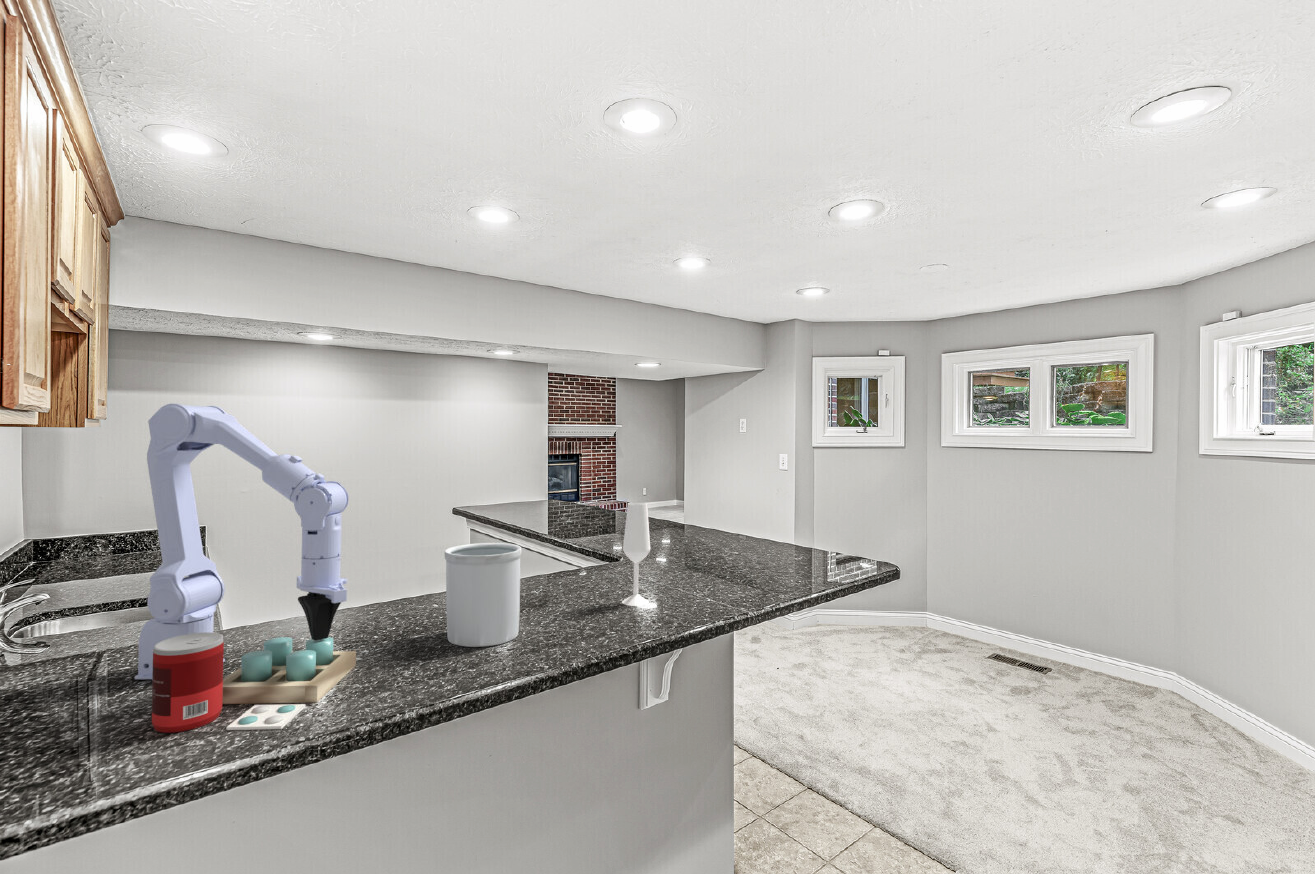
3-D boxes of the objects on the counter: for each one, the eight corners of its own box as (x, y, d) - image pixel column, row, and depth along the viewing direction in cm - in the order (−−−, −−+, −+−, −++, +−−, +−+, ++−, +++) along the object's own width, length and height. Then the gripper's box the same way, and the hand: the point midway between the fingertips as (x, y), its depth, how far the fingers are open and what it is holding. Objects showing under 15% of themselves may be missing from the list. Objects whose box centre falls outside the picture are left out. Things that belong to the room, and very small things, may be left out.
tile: (226, 730, 85) (226, 725, 85) (254, 707, 92) (254, 703, 92) (281, 728, 85) (281, 724, 85) (305, 706, 92) (305, 702, 92)
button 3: (280, 682, 96) (281, 659, 96) (293, 672, 100) (293, 650, 100) (308, 681, 96) (308, 658, 96) (320, 671, 100) (320, 649, 100)
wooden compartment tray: (209, 704, 93) (210, 687, 93) (264, 666, 107) (264, 651, 107) (317, 702, 94) (317, 685, 94) (355, 665, 109) (356, 650, 109)
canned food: (234, 708, 91) (236, 632, 91) (196, 734, 83) (197, 650, 83) (180, 707, 91) (181, 631, 91) (136, 733, 83) (138, 650, 83)
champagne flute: (633, 607, 149) (636, 505, 149) (616, 601, 154) (618, 503, 154) (655, 602, 154) (657, 504, 154) (637, 597, 159) (639, 501, 159)
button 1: (235, 682, 95) (235, 659, 95) (249, 672, 99) (250, 650, 99) (263, 682, 95) (263, 659, 95) (276, 672, 99) (277, 650, 99)
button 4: (300, 666, 102) (301, 644, 102) (312, 657, 106) (312, 636, 106) (326, 666, 102) (327, 644, 102) (337, 657, 106) (337, 636, 106)
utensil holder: (426, 643, 121) (428, 551, 121) (471, 621, 135) (473, 540, 135) (494, 652, 117) (496, 557, 117) (533, 629, 131) (535, 544, 131)
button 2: (258, 666, 101) (258, 645, 101) (271, 658, 105) (271, 637, 105) (284, 666, 102) (285, 644, 102) (296, 657, 106) (296, 637, 106)
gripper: (366, 558, 103) (364, 642, 103) (327, 547, 112) (326, 624, 112) (320, 565, 97) (319, 653, 97) (283, 552, 106) (282, 633, 106)
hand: (319, 638), depth 104 cm, fingers closed
